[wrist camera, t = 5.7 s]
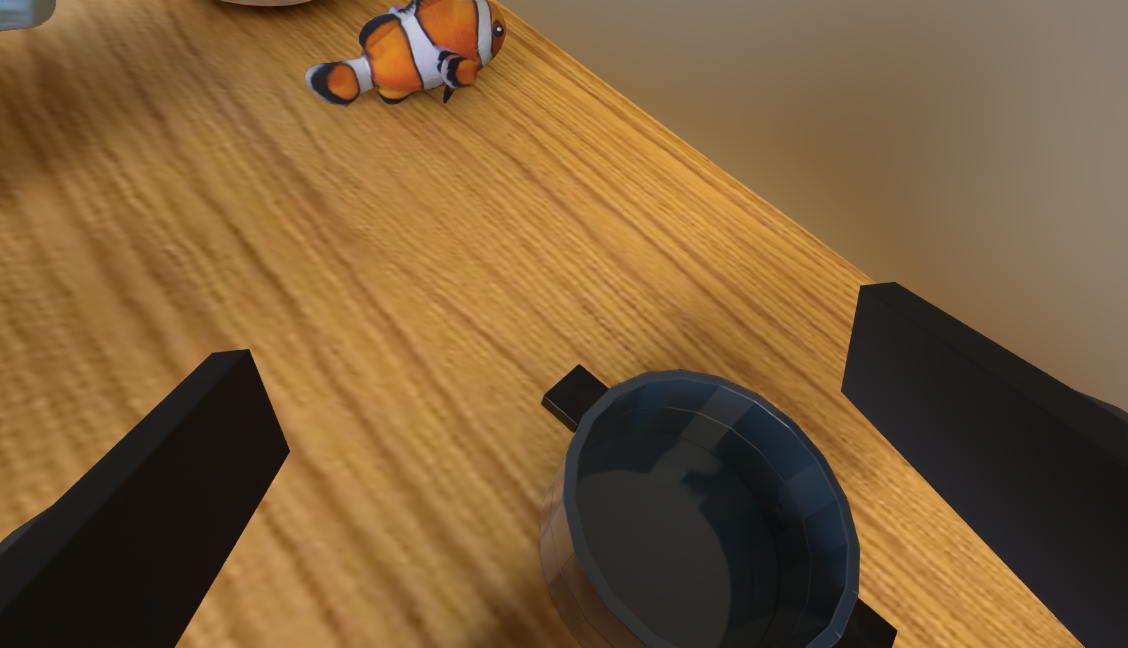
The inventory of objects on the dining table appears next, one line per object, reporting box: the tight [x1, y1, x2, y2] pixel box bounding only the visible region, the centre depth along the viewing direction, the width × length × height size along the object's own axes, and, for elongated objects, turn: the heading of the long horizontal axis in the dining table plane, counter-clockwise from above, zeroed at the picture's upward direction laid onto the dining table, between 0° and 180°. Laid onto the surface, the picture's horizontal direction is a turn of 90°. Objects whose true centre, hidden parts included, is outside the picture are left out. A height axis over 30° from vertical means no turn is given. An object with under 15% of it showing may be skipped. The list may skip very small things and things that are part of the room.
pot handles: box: [541, 364, 897, 648], centre depth 25 cm, size 3×18×1 cm, turn 49°
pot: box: [539, 369, 860, 648], centre depth 26 cm, size 14×14×6 cm
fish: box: [305, 0, 506, 106], centre depth 46 cm, size 10×18×10 cm, turn 126°
